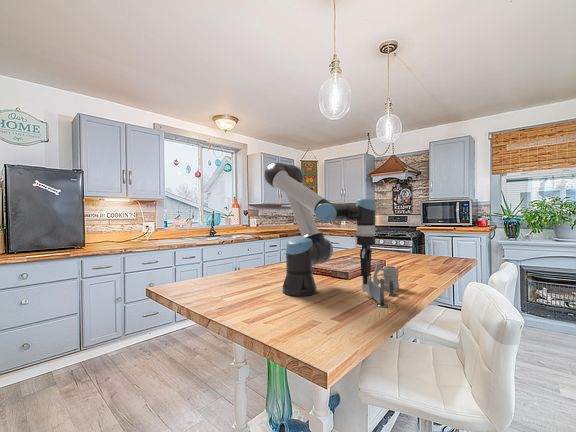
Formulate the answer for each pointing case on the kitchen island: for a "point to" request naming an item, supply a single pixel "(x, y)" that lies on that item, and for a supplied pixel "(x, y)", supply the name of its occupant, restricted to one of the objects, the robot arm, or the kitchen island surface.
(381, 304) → the hinge post
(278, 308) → the kitchen island surface
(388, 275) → the mug
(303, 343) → the kitchen island surface
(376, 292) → the gate
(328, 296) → the kitchen island surface
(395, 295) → the stop post
